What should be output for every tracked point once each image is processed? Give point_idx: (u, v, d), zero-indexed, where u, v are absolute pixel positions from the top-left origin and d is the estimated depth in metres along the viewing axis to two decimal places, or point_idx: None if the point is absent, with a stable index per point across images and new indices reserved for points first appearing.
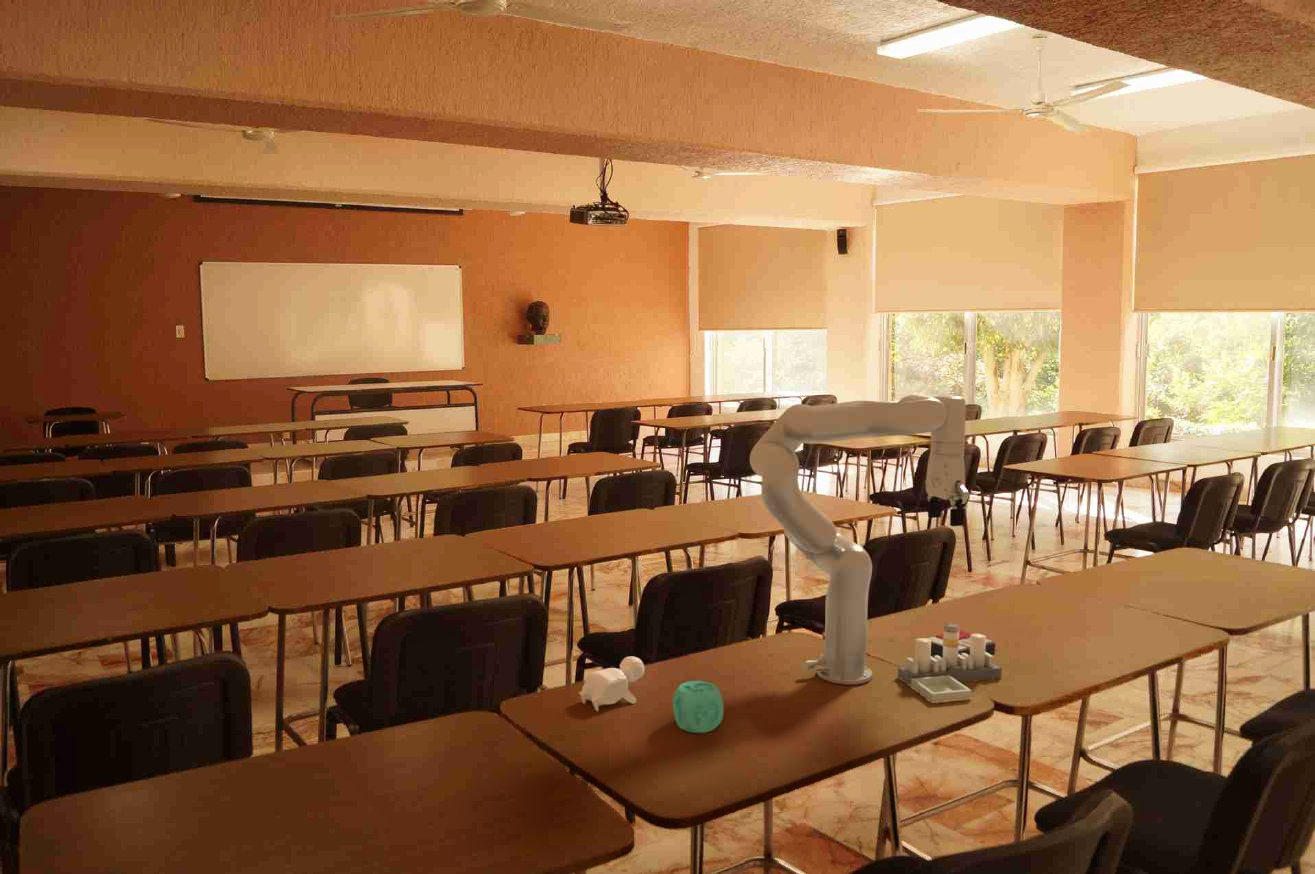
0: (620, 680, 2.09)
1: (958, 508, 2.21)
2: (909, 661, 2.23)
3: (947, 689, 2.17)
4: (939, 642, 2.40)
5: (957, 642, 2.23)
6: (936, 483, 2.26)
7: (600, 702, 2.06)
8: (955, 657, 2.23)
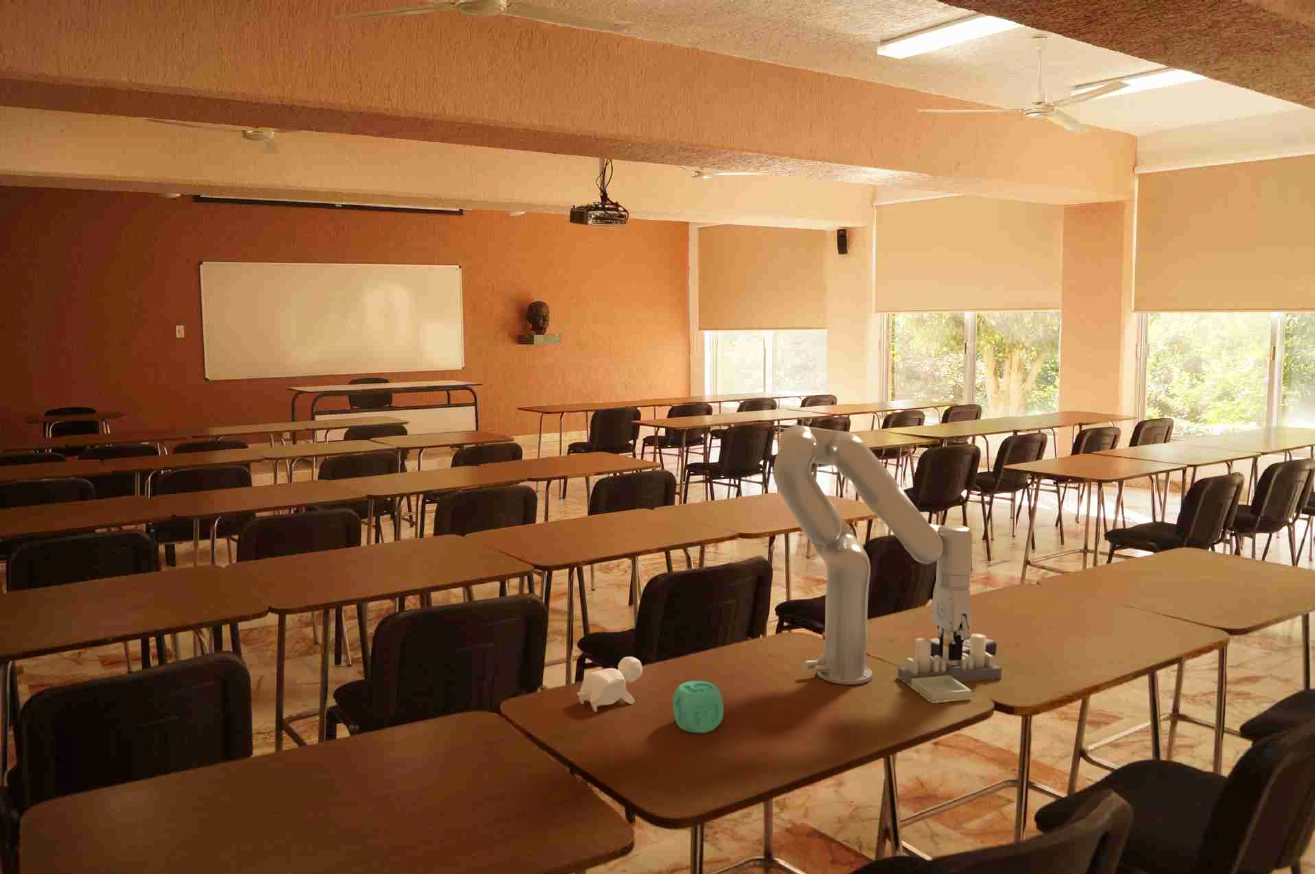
0: (619, 681, 2.08)
1: (956, 643, 2.21)
2: (909, 661, 2.23)
3: (947, 689, 2.17)
4: None
5: None
6: (941, 614, 2.23)
7: (598, 702, 2.06)
8: None
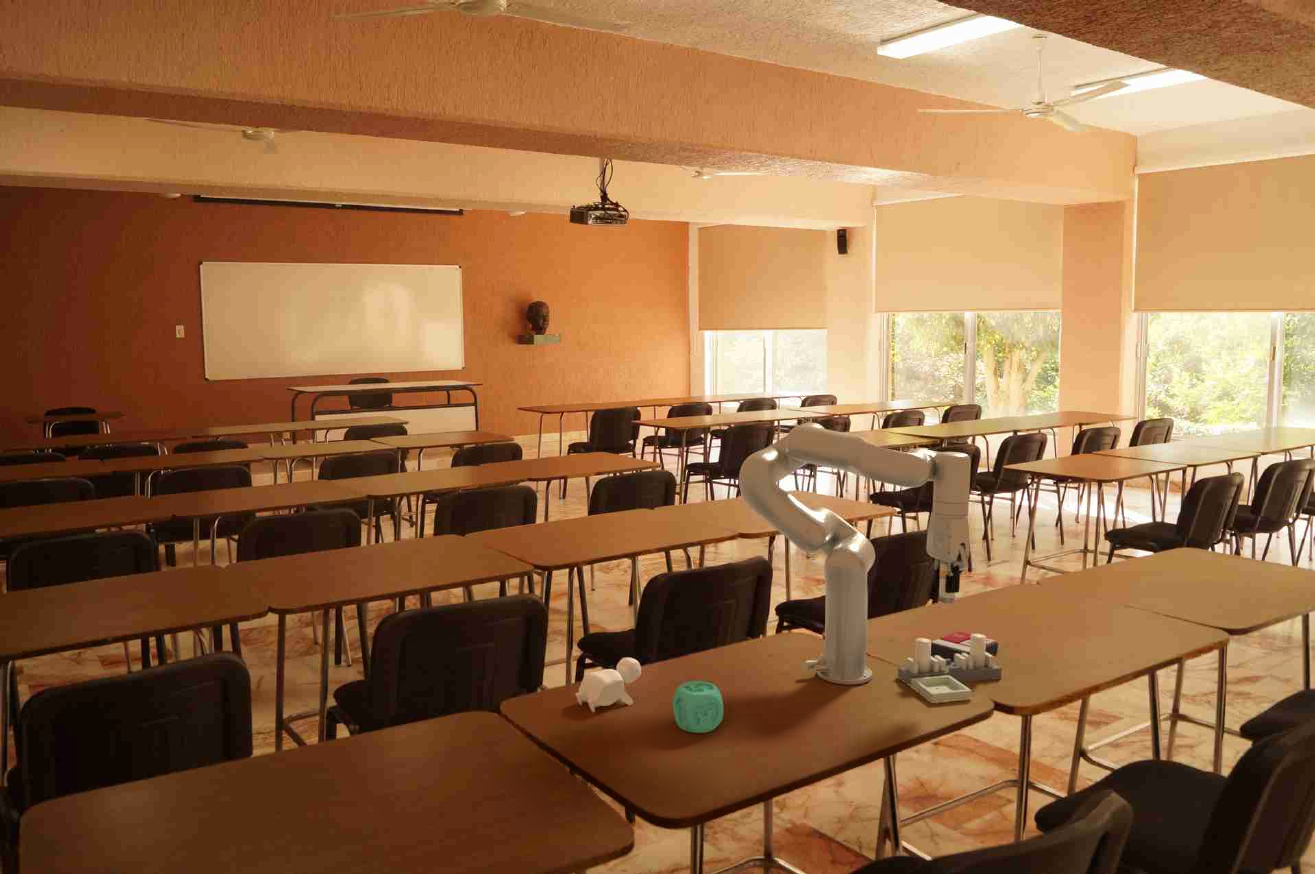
0: (617, 682, 2.08)
1: (954, 575, 2.12)
2: (909, 661, 2.23)
3: (947, 689, 2.17)
4: (947, 644, 2.38)
5: None
6: (938, 544, 2.14)
7: (596, 703, 2.05)
8: None
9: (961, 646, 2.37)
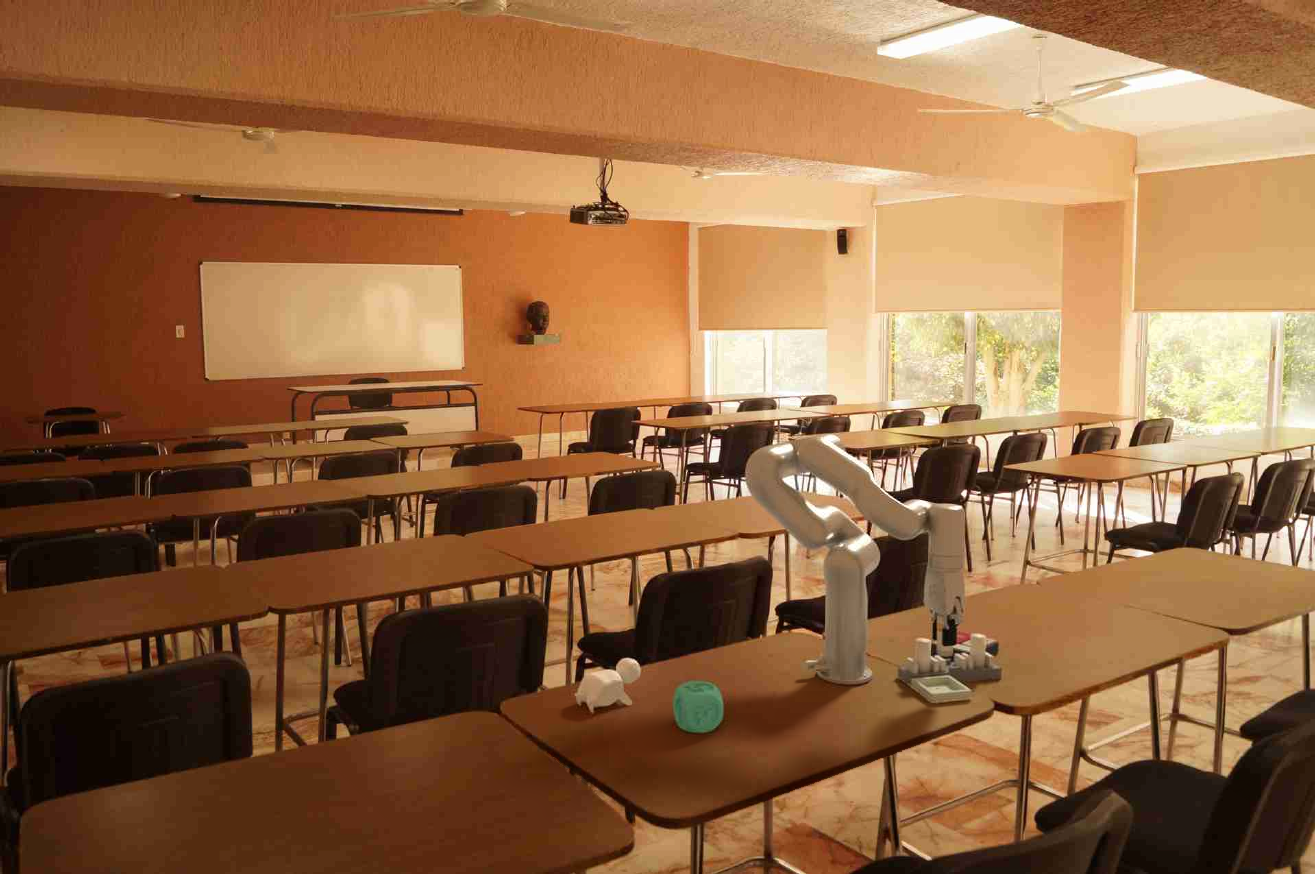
0: (616, 682, 2.07)
1: (950, 628, 2.11)
2: (909, 661, 2.23)
3: (947, 689, 2.17)
4: None
5: None
6: (934, 597, 2.12)
7: (595, 704, 2.05)
8: None
9: (964, 646, 2.37)
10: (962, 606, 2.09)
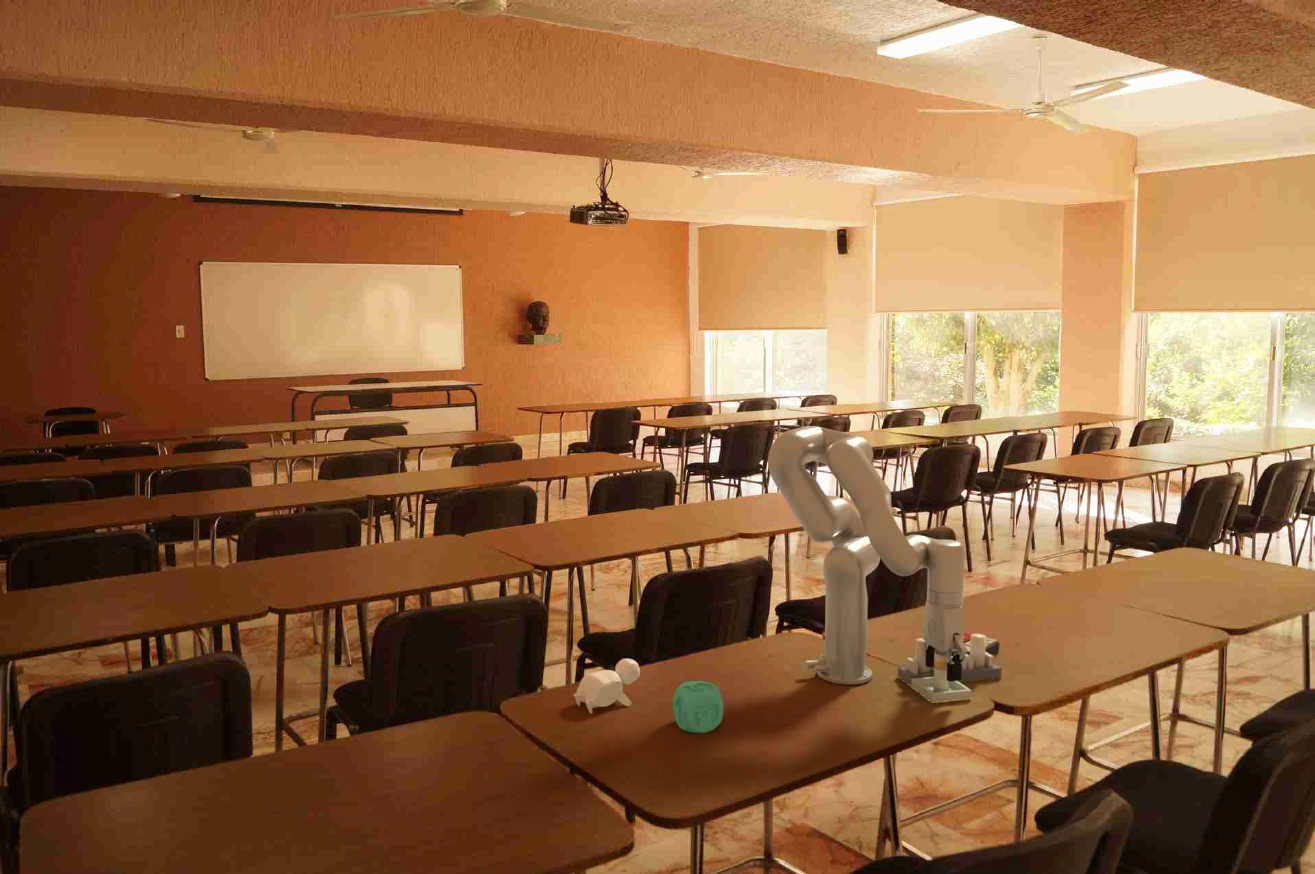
0: (615, 683, 2.07)
1: (955, 663, 2.09)
2: (909, 661, 2.23)
3: None
4: None
5: None
6: (933, 633, 2.13)
7: (594, 704, 2.05)
8: (946, 680, 2.14)
9: (966, 647, 2.36)
10: None
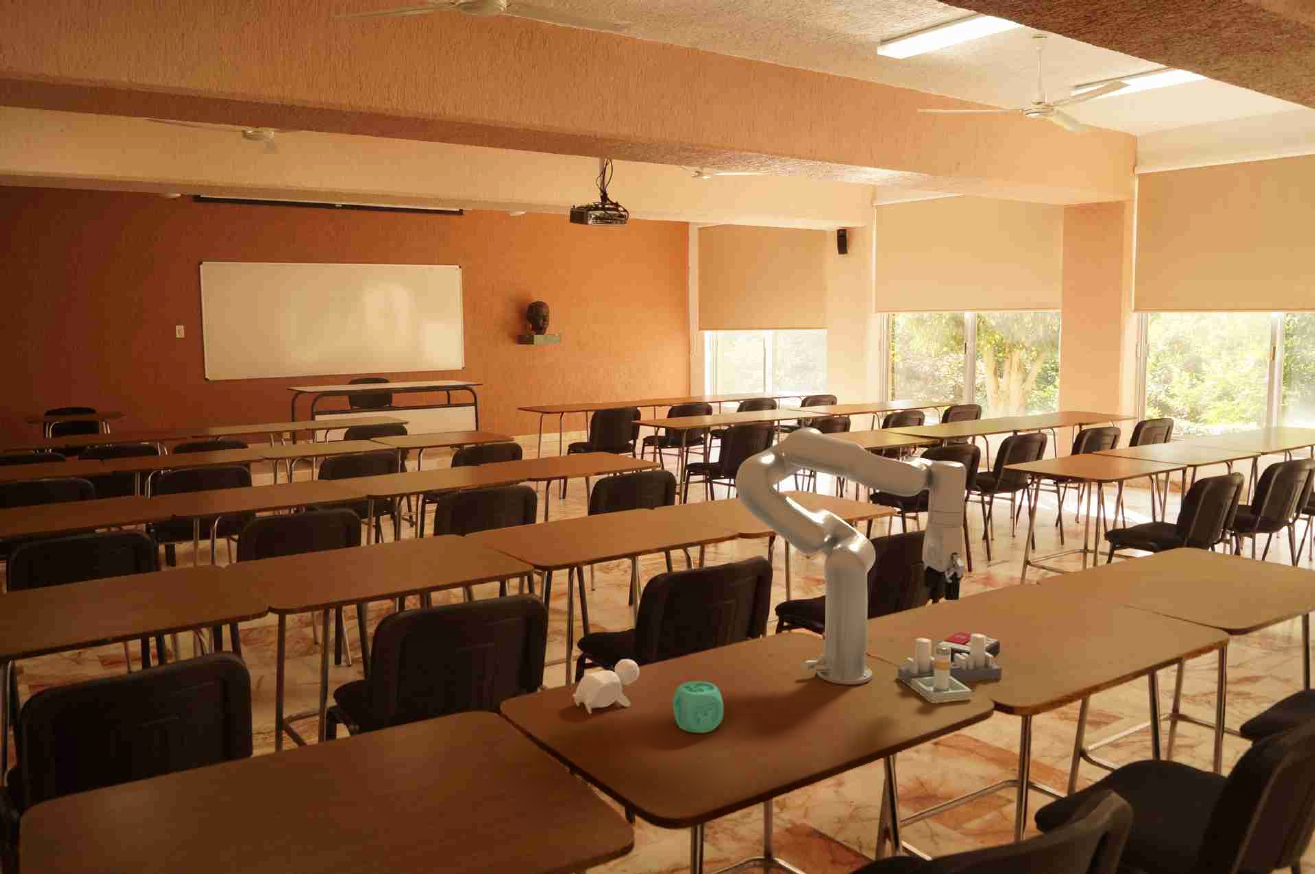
0: (614, 683, 2.07)
1: (953, 582, 2.10)
2: (909, 661, 2.23)
3: None
4: (955, 646, 2.37)
5: (949, 665, 2.14)
6: (932, 553, 2.14)
7: (593, 705, 2.04)
8: (946, 680, 2.14)
9: (969, 647, 2.36)
10: None
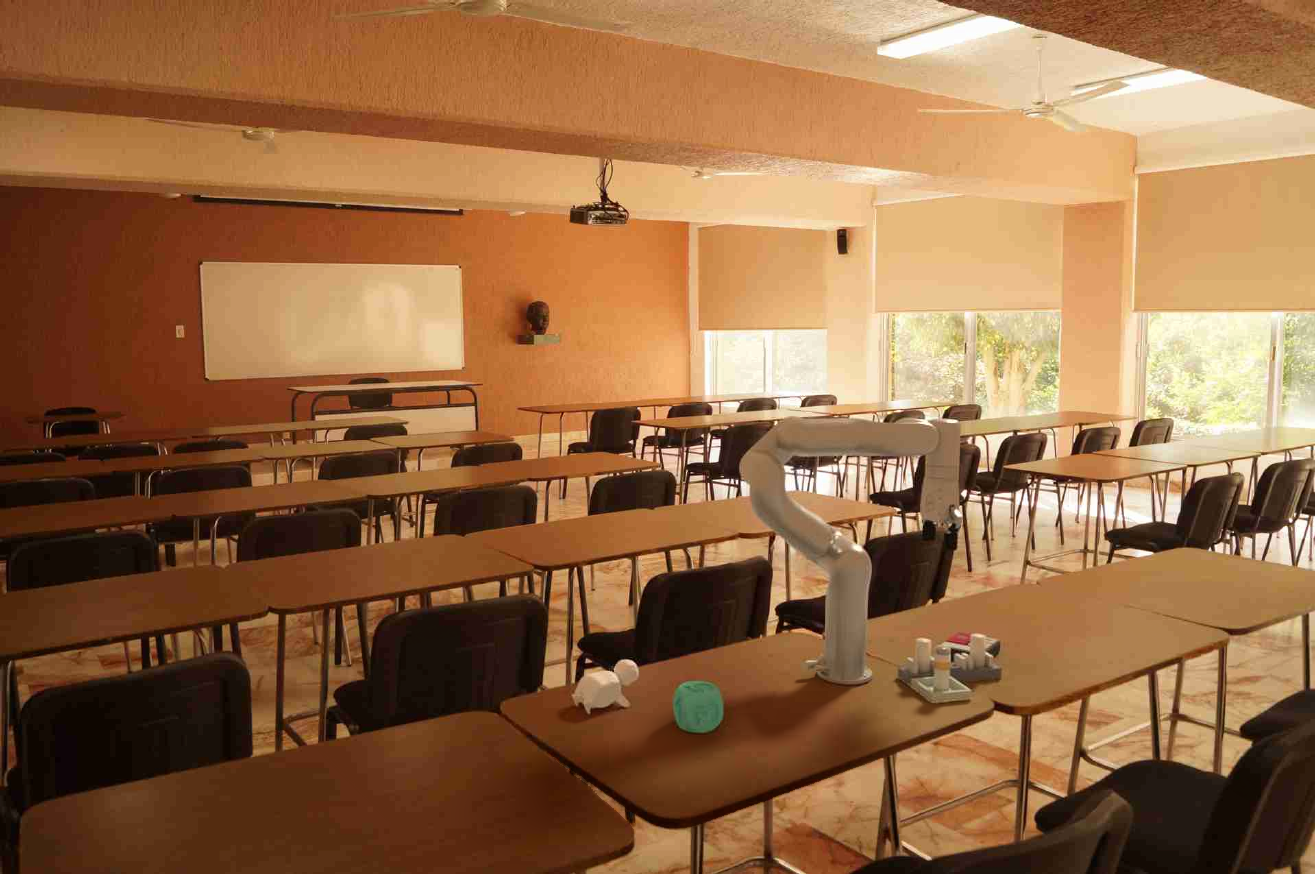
0: (613, 684, 2.07)
1: (952, 532, 2.20)
2: (909, 661, 2.23)
3: None
4: (957, 647, 2.36)
5: (949, 665, 2.14)
6: (930, 507, 2.25)
7: (591, 705, 2.04)
8: (946, 680, 2.14)
9: None
10: None
